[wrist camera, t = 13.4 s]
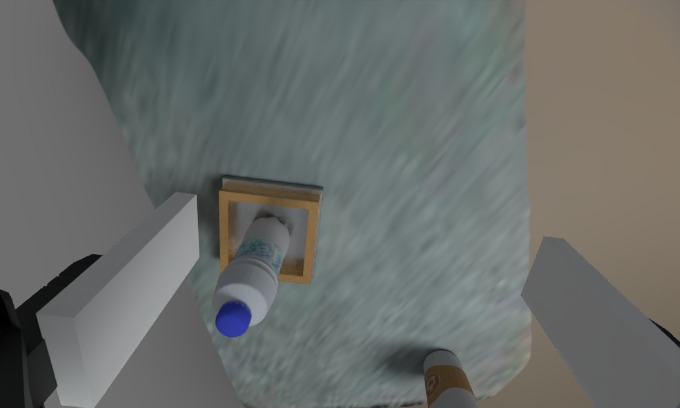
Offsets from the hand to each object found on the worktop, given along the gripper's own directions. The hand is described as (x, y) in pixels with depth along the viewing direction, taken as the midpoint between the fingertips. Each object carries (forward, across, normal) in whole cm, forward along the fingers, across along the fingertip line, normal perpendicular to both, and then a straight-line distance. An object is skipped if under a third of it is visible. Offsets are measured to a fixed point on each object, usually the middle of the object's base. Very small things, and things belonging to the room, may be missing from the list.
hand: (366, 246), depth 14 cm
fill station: (+37, -10, -20) cm, 43 cm away
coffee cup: (+37, +21, -43) cm, 60 cm away
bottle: (+36, -10, -20) cm, 42 cm away
